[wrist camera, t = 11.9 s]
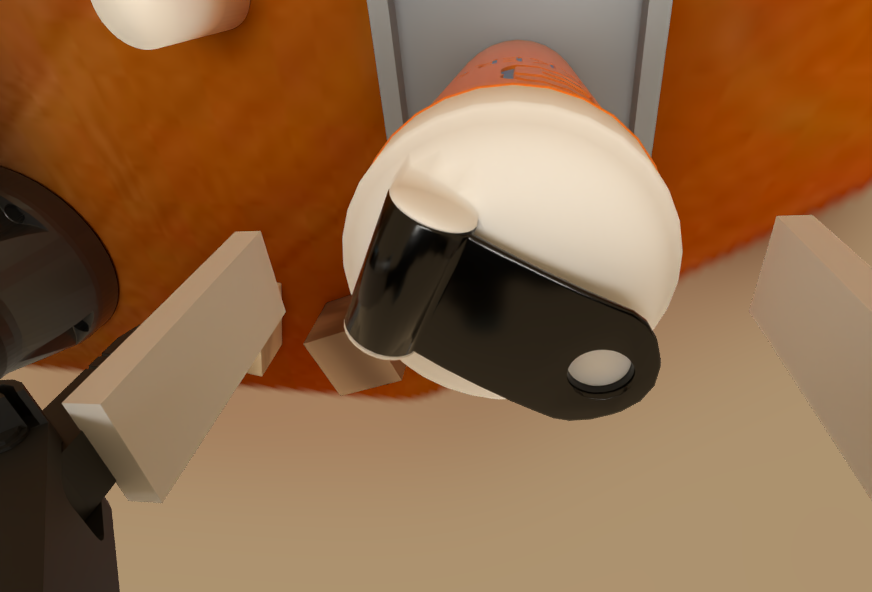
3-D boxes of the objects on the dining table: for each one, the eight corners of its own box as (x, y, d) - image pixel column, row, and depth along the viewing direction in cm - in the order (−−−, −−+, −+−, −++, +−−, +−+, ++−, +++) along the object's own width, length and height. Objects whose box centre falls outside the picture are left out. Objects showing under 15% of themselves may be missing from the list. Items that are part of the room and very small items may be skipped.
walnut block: (358, 351, 41) (340, 395, 37) (326, 302, 38) (303, 343, 34) (414, 335, 39) (401, 380, 35) (384, 283, 37) (366, 324, 33)
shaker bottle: (564, 205, 30) (611, 502, 14) (419, 167, 30) (294, 418, 14) (628, 43, 25) (821, 208, 9) (453, -3, 25) (321, 77, 9)
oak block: (235, 332, 42) (210, 364, 38) (230, 270, 38) (202, 300, 35) (282, 342, 41) (262, 376, 38) (282, 282, 38) (259, 313, 35)
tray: (409, 221, 34) (401, 239, 32) (375, -30, 26) (362, -28, 24) (632, 216, 31) (640, 234, 29) (667, -63, 24) (681, -64, 22)
